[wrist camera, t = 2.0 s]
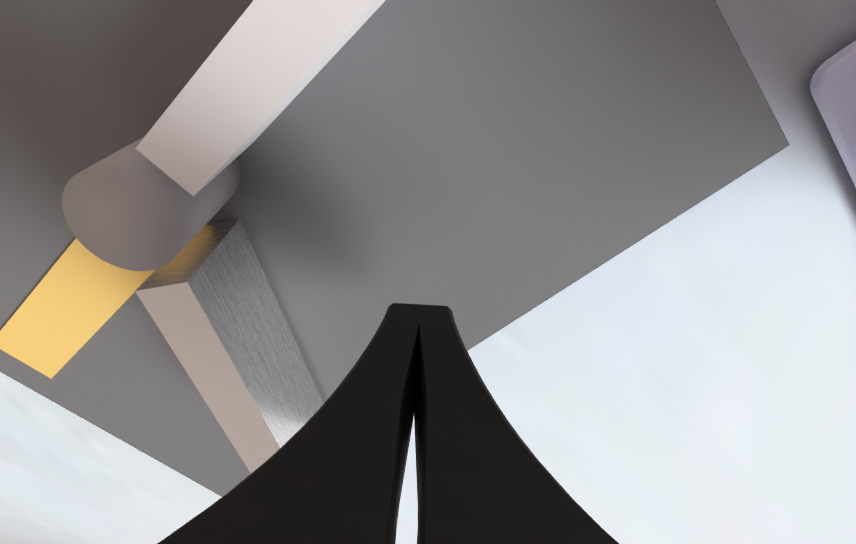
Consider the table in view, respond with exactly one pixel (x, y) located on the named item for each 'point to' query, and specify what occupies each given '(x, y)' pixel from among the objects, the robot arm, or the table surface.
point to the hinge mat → (337, 172)
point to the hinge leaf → (233, 340)
